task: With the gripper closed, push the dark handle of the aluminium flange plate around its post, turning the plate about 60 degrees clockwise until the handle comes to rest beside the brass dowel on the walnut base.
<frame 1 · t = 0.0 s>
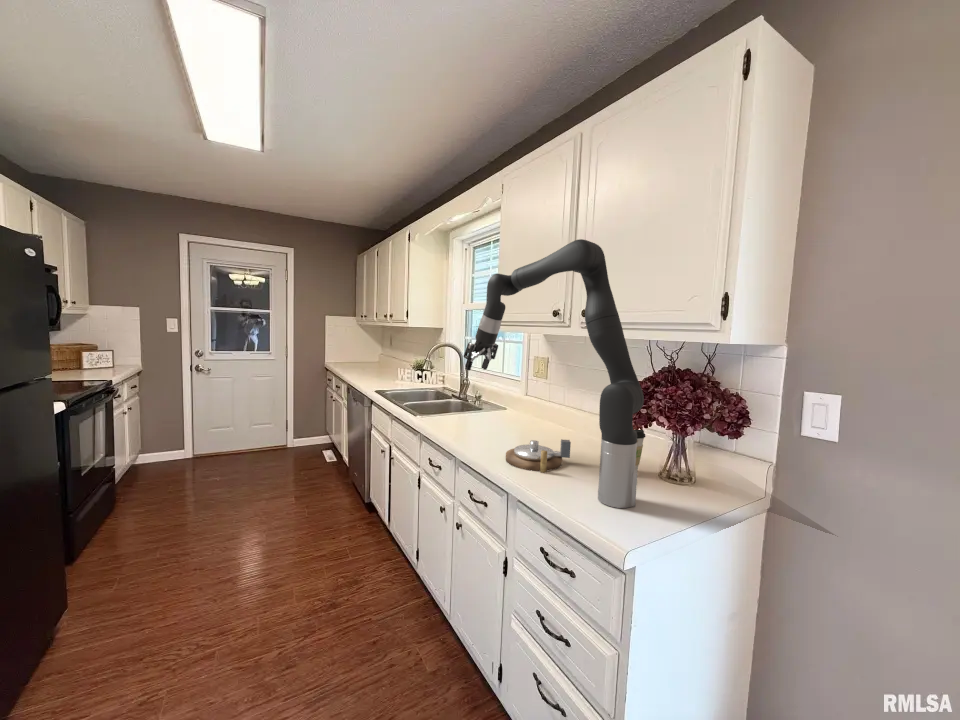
hand: (475, 369, 146), 31 cm above the counter, tool tilted 20°, fingers open, 8 cm apart
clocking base: (533, 460, 141), on the counter
flange plate: (541, 447, 140), point 5 cm above the counter, hinge at 0.0°
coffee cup: (627, 473, 132), on the counter
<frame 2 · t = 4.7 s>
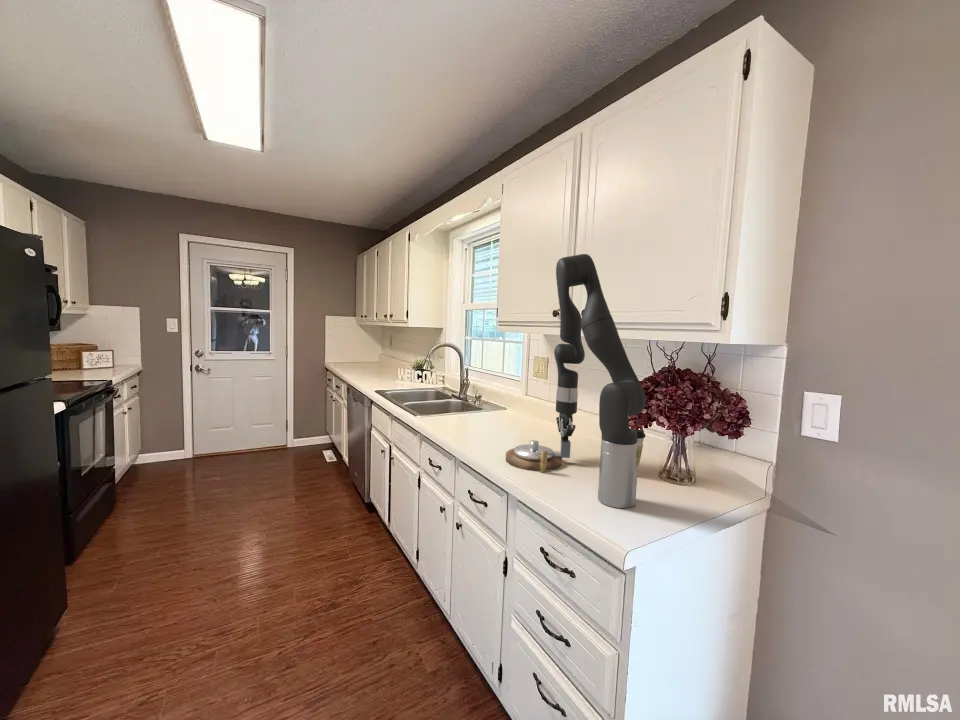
hand: (564, 446, 143), 5 cm above the counter, tool pointing down, fingers closed
flange plate: (541, 447, 140), point 5 cm above the counter, hinge at -1.0°, touching gripper
everything else where it was.
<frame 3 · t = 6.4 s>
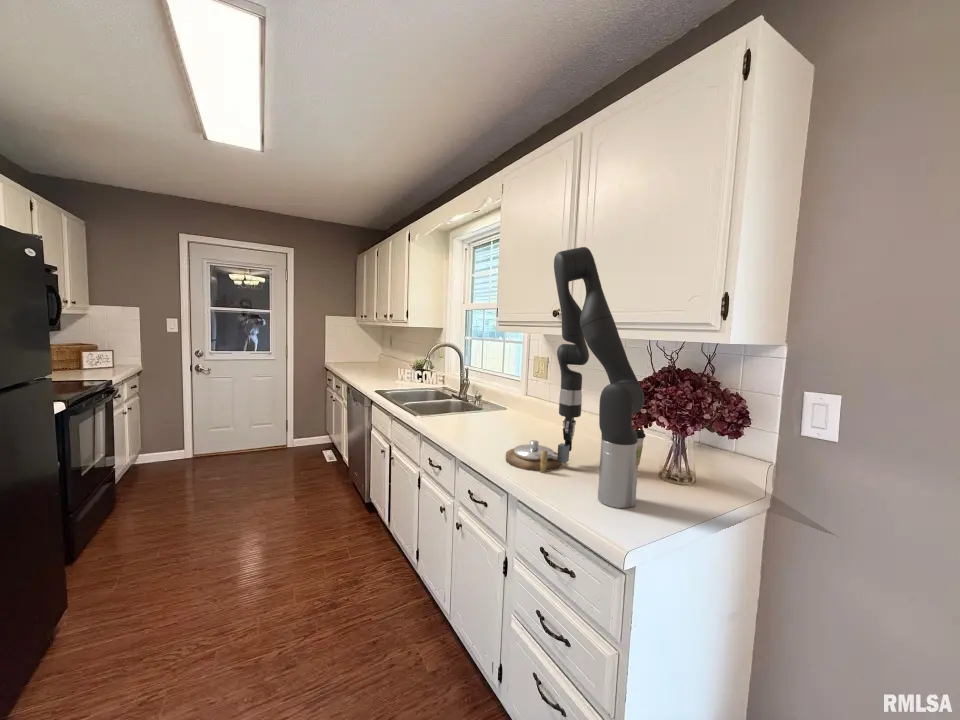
hand: (568, 450, 137), 5 cm above the counter, tool pointing down, fingers closed
flange plate: (541, 448, 139), point 5 cm above the counter, hinge at -28.4°, touching gripper
everything else where it was.
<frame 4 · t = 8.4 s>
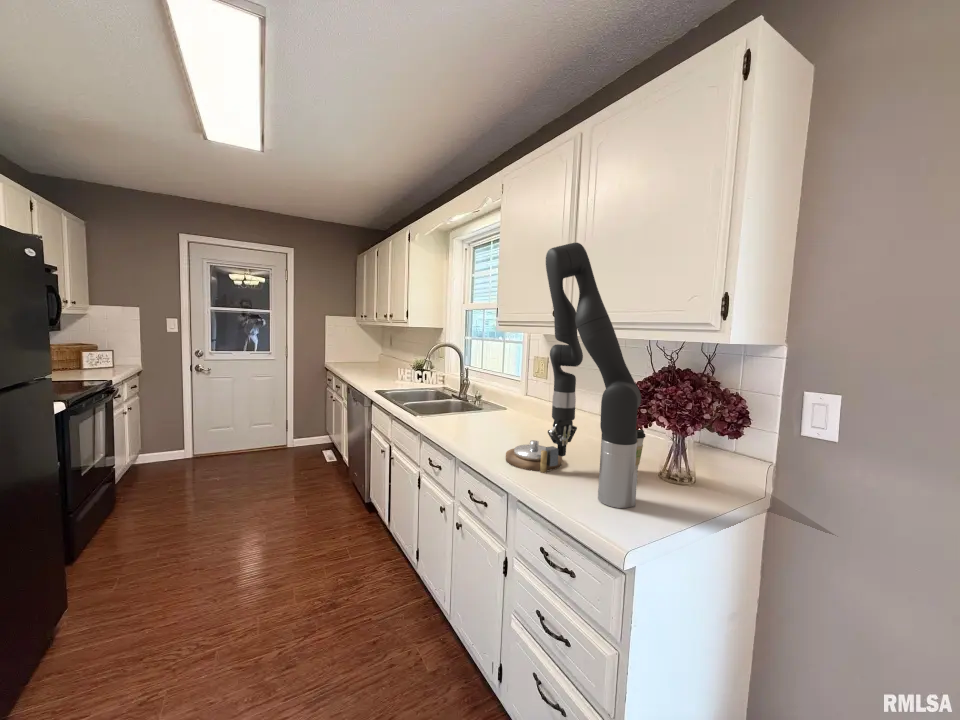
hand: (561, 455, 132), 5 cm above the counter, tool pointing down, fingers closed
flange plate: (538, 448, 138), point 5 cm above the counter, hinge at -61.3°, touching gripper
everything else where it was.
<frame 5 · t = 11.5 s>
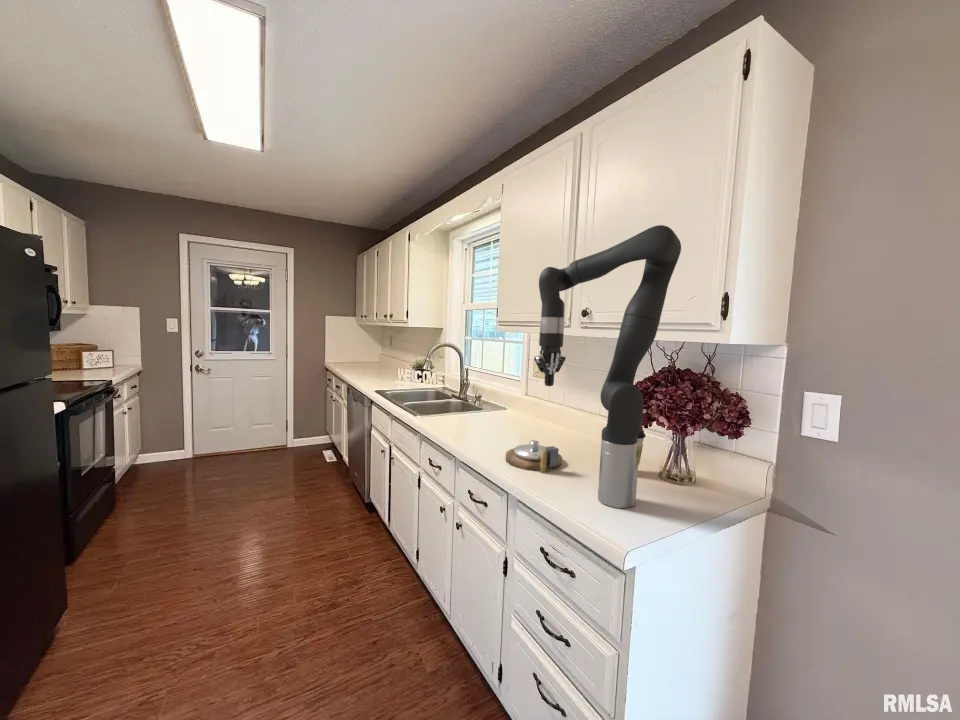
hand: (548, 385, 126), 29 cm above the counter, tool pointing down, fingers closed
flange plate: (538, 448, 138), point 5 cm above the counter, hinge at -61.3°
everything else where it was.
at the end: flange plate at -61° (first picture: +0°) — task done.
